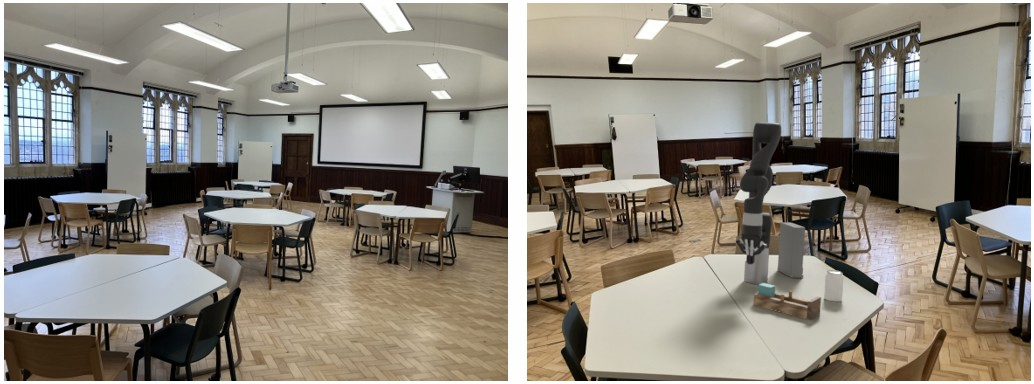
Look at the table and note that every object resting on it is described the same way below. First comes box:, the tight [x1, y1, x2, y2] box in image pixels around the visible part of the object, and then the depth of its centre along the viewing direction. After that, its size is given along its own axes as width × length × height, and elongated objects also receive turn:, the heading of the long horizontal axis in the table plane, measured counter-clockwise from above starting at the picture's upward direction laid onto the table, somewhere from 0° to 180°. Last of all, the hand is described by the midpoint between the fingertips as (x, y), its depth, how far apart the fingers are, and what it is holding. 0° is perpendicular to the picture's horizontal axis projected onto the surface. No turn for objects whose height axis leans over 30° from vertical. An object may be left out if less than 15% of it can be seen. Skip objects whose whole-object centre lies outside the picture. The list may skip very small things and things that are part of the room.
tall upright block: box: [776, 221, 806, 279], centre depth 257 cm, size 14×6×25 cm, turn 179°
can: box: [823, 269, 845, 303], centre depth 219 cm, size 6×6×12 cm
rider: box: [757, 283, 776, 298], centre depth 214 cm, size 5×4×5 cm
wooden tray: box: [752, 290, 822, 321], centre depth 208 cm, size 22×9×7 cm, turn 39°
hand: (750, 263), depth 218 cm, fingers closed
